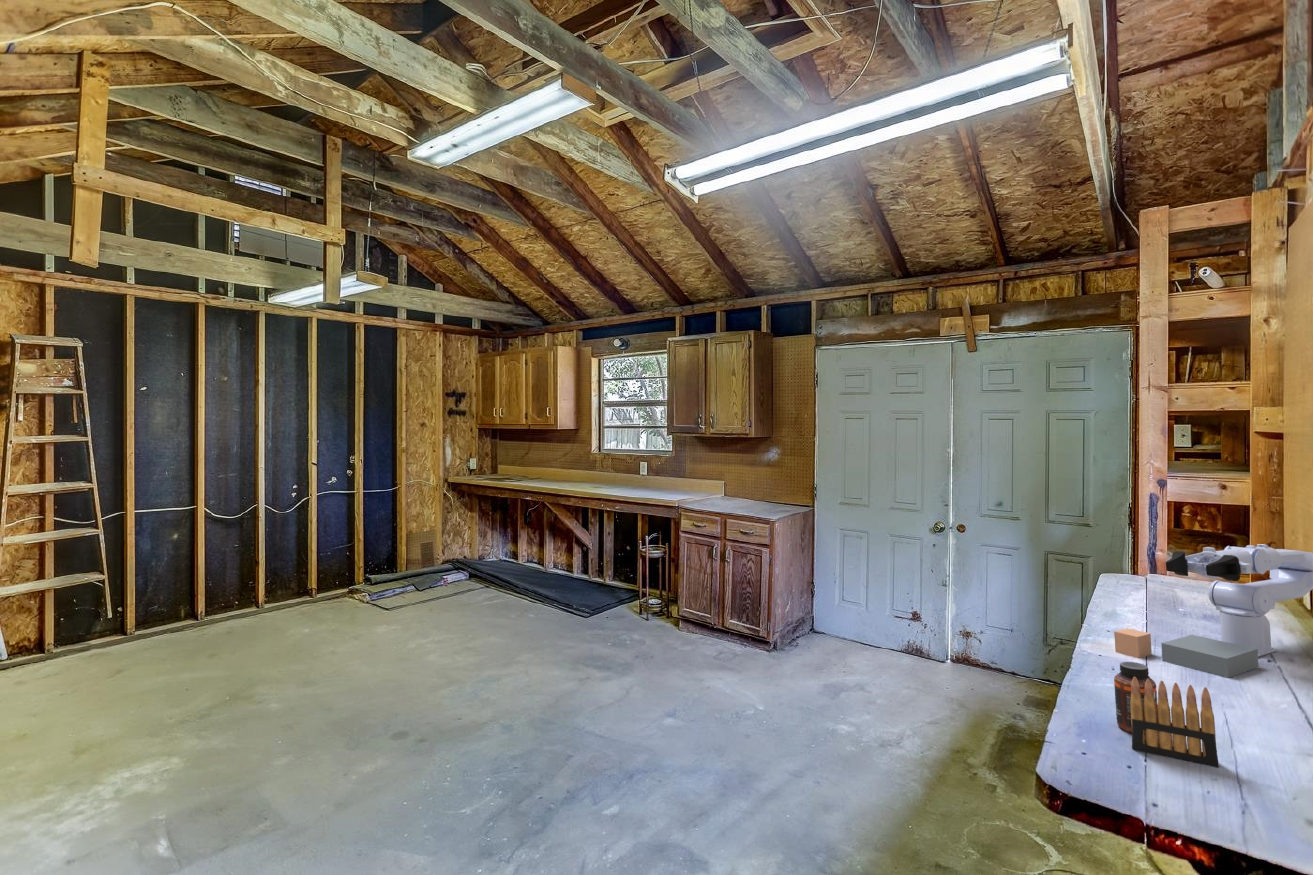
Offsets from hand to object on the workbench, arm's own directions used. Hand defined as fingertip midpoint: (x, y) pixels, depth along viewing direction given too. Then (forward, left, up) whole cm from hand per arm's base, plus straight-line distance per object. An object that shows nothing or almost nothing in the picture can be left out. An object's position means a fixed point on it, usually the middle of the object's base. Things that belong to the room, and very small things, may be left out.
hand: (1187, 568), depth 137 cm
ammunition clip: (+48, +20, -22) cm, 56 cm away
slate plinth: (-3, +1, -21) cm, 22 cm away
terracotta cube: (+3, -11, -22) cm, 24 cm away
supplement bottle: (+43, +12, -22) cm, 49 cm away
